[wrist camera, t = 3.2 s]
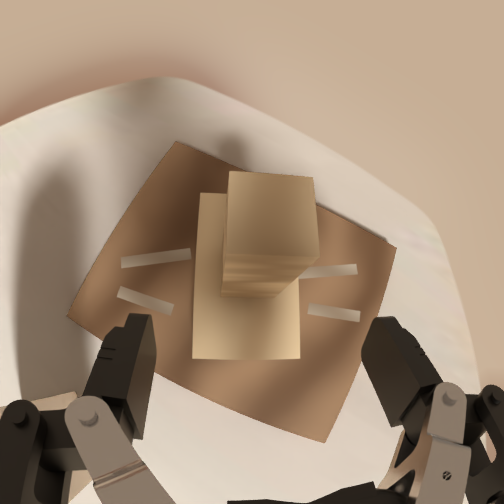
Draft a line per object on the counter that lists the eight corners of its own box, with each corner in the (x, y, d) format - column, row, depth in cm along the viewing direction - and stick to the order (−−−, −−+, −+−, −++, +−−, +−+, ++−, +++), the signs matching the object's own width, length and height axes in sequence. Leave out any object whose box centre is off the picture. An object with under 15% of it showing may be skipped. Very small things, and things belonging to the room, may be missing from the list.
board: (73, 317, 19) (66, 315, 18) (176, 150, 24) (175, 141, 23) (319, 439, 19) (324, 443, 17) (389, 252, 24) (396, 247, 23)
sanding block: (195, 356, 18) (172, 367, 8) (201, 212, 22) (196, 100, 11) (287, 357, 19) (366, 362, 9) (284, 217, 22) (336, 114, 12)
